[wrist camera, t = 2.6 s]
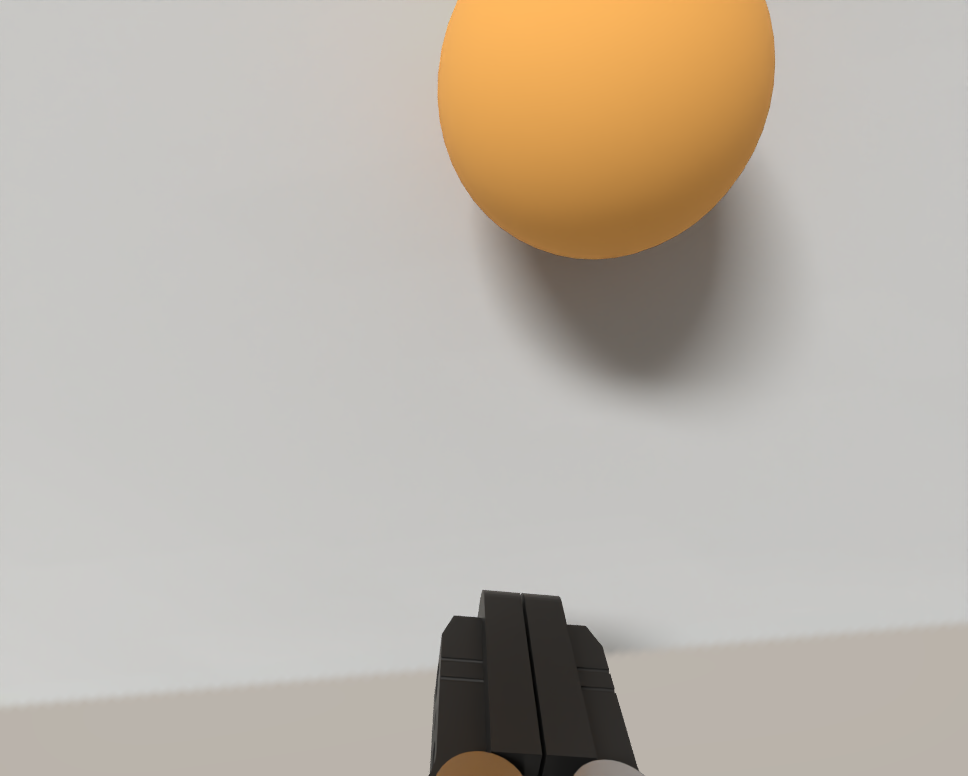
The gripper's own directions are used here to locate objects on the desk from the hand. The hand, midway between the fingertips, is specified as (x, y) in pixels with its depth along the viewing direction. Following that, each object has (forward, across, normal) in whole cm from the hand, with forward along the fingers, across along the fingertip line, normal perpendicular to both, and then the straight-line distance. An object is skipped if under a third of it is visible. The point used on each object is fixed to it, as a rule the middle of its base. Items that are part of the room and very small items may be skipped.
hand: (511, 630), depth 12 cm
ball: (+2, 0, -10) cm, 10 cm away
